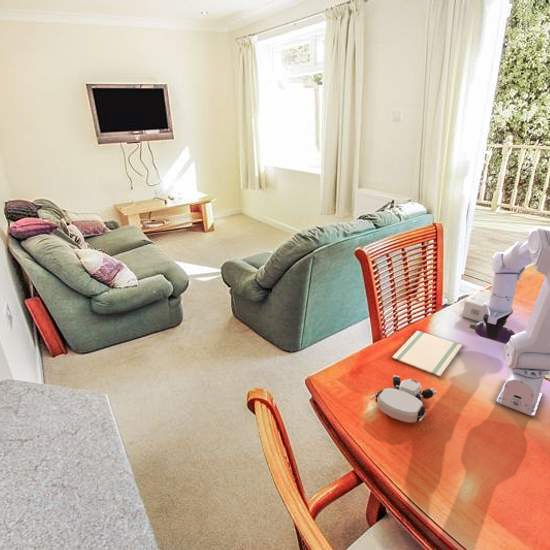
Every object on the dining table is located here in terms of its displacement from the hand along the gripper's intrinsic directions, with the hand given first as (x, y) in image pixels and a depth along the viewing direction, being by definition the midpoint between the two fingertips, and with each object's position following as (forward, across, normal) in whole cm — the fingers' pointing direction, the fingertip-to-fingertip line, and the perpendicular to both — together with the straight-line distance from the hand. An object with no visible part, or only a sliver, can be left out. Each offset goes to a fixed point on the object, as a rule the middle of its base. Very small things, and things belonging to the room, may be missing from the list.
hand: (494, 334), depth 110 cm
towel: (+5, +13, -14) cm, 20 cm away
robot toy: (+5, +38, -10) cm, 40 cm away
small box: (+2, -13, -9) cm, 16 cm away
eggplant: (+2, 0, 0) cm, 2 cm away
